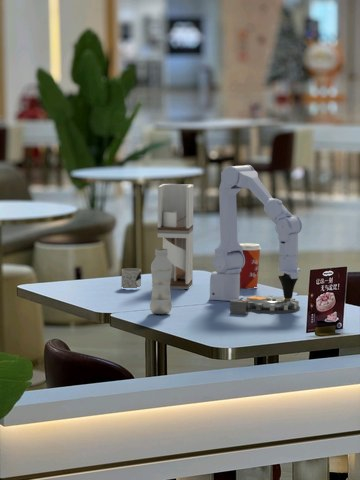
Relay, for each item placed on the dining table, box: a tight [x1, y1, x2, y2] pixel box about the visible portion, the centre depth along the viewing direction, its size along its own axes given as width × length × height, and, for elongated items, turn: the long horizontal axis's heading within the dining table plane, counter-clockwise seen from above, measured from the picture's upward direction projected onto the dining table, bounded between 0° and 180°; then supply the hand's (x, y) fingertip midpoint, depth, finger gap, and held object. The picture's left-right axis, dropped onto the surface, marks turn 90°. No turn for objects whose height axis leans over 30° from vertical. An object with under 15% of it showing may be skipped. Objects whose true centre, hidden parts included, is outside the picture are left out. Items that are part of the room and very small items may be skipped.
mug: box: [121, 267, 142, 288], centre depth 421 cm, size 10×7×7 cm
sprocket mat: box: [248, 305, 301, 315], centre depth 387 cm, size 19×18×1 cm
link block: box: [229, 299, 249, 316], centre depth 378 cm, size 5×3×4 cm, turn 71°
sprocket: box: [244, 295, 300, 311], centre depth 387 cm, size 17×17×5 cm
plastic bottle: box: [149, 247, 173, 315], centre depth 374 cm, size 6×7×20 cm
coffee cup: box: [239, 242, 262, 290], centre depth 423 cm, size 8×8×15 cm
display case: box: [157, 183, 195, 290], centre depth 422 cm, size 11×11×35 cm
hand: (288, 298), depth 385 cm, fingers closed
